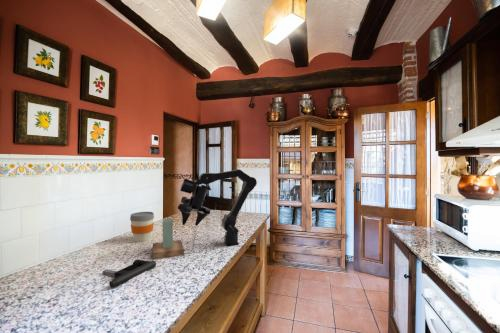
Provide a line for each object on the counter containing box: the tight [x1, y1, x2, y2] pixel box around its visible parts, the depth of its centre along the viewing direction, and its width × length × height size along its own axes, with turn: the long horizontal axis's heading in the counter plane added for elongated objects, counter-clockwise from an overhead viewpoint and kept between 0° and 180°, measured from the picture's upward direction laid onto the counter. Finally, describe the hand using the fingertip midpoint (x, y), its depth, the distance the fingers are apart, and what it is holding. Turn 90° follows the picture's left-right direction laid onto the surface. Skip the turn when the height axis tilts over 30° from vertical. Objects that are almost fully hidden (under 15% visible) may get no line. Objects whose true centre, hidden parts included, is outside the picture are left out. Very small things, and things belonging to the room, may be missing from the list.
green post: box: [162, 218, 174, 248], centre depth 119 cm, size 4×4×13 cm
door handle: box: [102, 259, 157, 289], centre depth 96 cm, size 3×20×16 cm
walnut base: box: [152, 239, 185, 261], centre depth 119 cm, size 14×14×3 cm
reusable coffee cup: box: [129, 211, 155, 243], centre depth 138 cm, size 13×13×15 cm
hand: (189, 225), depth 124 cm, fingers open, 9 cm apart
